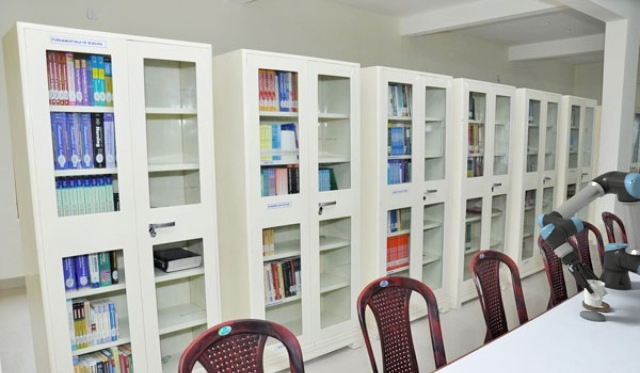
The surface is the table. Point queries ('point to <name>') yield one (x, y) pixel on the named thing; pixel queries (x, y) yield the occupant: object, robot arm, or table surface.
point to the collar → (597, 309)
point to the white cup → (599, 289)
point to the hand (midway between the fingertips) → (602, 297)
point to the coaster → (592, 316)
